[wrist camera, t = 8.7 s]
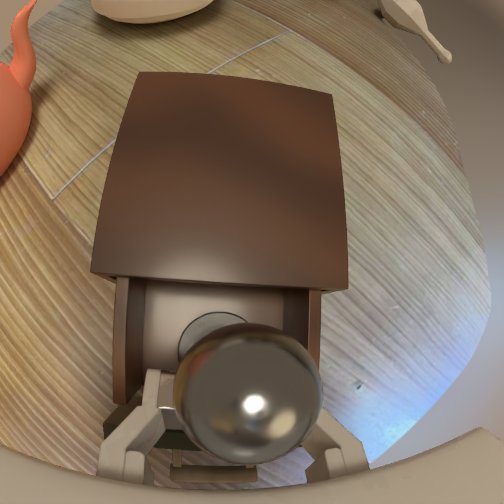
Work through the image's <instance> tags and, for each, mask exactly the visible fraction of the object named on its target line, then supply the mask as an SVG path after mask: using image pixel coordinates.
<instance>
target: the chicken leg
mask: <svg viewBox="0 0 504 504" xmlns="http://www.w3.org/2000/svg"><path fill="white" fill-rule="evenodd" d="M378 2H379V6H380V9H381V13H382V16H383V17H384V18H385V19H386V20H387V21H388V22H389V23H390V24H391V25H392V26H393V27H395V28H399V29H402V30H404V31H407V32H410V33H413V34H416V35H418V36H421V37H422V38H423V40H424V41H425V42H426V43H427V44H428V45H429V46H430V47H431V49H432V50H433V51H434V52H435V53H436V54H437V58H438V60H439V61H440V62H441V63H446V64H448V63H450V62H451V60H452V55H451V53H450V52H449V51H447V50H445V49H444V48H443V47H442V46H441V45H440V43H439V42H438V41H437V40H436V39H435V38H434V36H433V35H432V34H431V33H430V32H429V31H428V29H427V25H426V21H425V18H424V14H423V11H422V8H421V5H419V3H418V2H417V1H416V0H379V1H378Z"/></svg>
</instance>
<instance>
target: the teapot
mask: <svg viewBox="0 0 504 504" xmlns="http://www.w3.org/2000/svg"><path fill="white" fill-rule="evenodd" d="M36 2H37V0H32V1H30V2H29V3H28V4H27V5H26V6H25V7H24V8H23V9H21V10H20V12H19V13H18V14H17V15H16V17H15V18H14V20H13V22H12V26H11V37H12V41H13V45H14V57H13V60H12V62H11V64H10V66H7V65H6V64H4V63H2V62H0V177H1V176H2V174H3V173H4V172H5V171H6V169H7V168H8V167H9V165H10V164H11V162H12V161H13V159H14V158H15V156H16V155H17V153H18V152H19V150H20V148H21V146H22V144H23V142H24V140H25V138H26V135H27V132H28V128H29V124H30V120H31V114H32V101H31V96H30V92H29V90H28V89H29V87H30V85H31V82H32V80H33V78H34V74H35V71H36V58H35V52H34V49H33V46H32V43H31V40H30V37H29V33H28V18H29V15H30V12H31V10H32V9H33V7H34V5H35V4H36Z"/></svg>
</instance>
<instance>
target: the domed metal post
mask: <svg viewBox="0 0 504 504" xmlns="http://www.w3.org/2000/svg"><path fill="white" fill-rule="evenodd" d="M177 355H178V362H179V365H178V367H177V370H176V373H175V376H174V381H173V389H172V399H173V407H174V411H175V414H176V417H177V420H178V422H179V424H180V426H181V428H182V429H183V431H184V433H185V434H186V435H187V437H188V438H189V439H190V440H191V441H192V442H193V443H194V444H195V445H196V446H197V447H199V448H200V449H201V450H203V451H204V452H205V453H207V454H209V455H210V456H212V457H214V458H217V459H219V460H222V461H225V462H229V463H233V464H241V465H255V464H263V463H267V462H271V461H274V460H277V459H279V458H281V457H283V456H285V455H287V454H289V453H290V452H292V451H293V450H294V449H296V448H297V447H298V446H299V445H301V443H302V442H303V441H304V440H305V439H306V438H307V437H308V436H309V434H310V433H311V432H312V430H313V428H314V426H315V425H316V422H317V420H318V418H319V414H320V411H321V407H322V400H323V388H322V381H321V377H320V374H319V370H318V368H317V366H316V364H315V361H314V360H313V358H312V357H311V355H310V354H309V352H308V351H307V350H306V349H305V348H304V347H303V346H302V345H301V344H300V343H299V342H298V341H297V340H296V339H295V338H293V337H292V336H290V335H289V334H287V333H285V332H283V331H281V330H279V329H276V328H274V327H271V326H268V325H263V324H258V323H249V322H248V321H246V320H245V319H243V318H242V317H240V316H238V315H235V314H233V313H229V312H211V313H207V314H204V315H202V316H200V317H198V318H196V319H195V320H193V321H192V322H191V323H190V324H189V325H188V326H187V327H186V328H185V330H184V331H183V333H182V335H181V337H180V340H179V343H178V350H177Z"/></svg>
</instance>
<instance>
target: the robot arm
mask: <svg viewBox="0 0 504 504" xmlns="http://www.w3.org/2000/svg"><path fill="white" fill-rule="evenodd" d="M175 373H176V371H165V370H157V369H148V370H147V372H146V378H145V385H144V392H143V399H142V406H137V407H136V408H135V409H134V410H133V411H132V412H131V413H130V414H129V415H128V416H127V418H126V419H125V420H124V421H123V422H122V423H121V424H120V425H119V426H118V427H117V428H116V429H115V430H114V431H113V432H112V433H111V434H110V435H109V436H108V437H107V438H106V439H105V440H104V441H103V442H102V443H101V446H100V453H99V459H98V466H97V474H96V476H94V475H90V474H86V473H82V472H78V471H74V470H71V469H67V468H64V467H61V466H57V465H54V464H51V463H48V462H45V461H42V460H40V459H37V458H34V457H32V456H29V455H26V454H24V453H21V452H19V451H16V450H14V449H12V448H9V447H7V446H5V445H3V444H1V443H0V504H504V445H503V443H502V442H501V440H500V439H499V438H498V437H496V436H495V435H494V434H492V433H491V432H489V431H488V430H486V429H484V428H482V427H478V428H475V429H473V430H471V431H469V432H467V433H465V434H463V435H461V436H459V437H457V438H455V439H453V440H451V441H448V442H446V443H444V444H441V445H439V446H437V447H434V448H432V449H430V450H427V451H424V452H422V453H419V454H417V455H414V456H411V457H408V458H406V459H403V460H400V461H397V462H394V463H391V464H387V465H385V466H381V467H378V468H375V469H370V468H369V464H368V461H367V458H366V455H365V451H364V448H363V445H362V442H361V441H360V440H359V439H357V438H356V437H355V436H354V435H353V434H352V433H350V432H349V431H348V430H347V429H346V428H345V427H344V426H343V425H341V424H340V423H339V422H338V421H337V420H336V419H335V418H334V417H332V416H331V415H330V414H329V413H328V412H327V411H326V410H325V409H324V408H323V407H321V411H320V414H319V418H318V420H317V422H316V425H315V426H314V428H313V430H312V432H311V433H310V434H309V436H308V437H307V438H306V439H305V440H304V441H303V442H302V443H301V445H302V446H303V447H304V449H305V450H306V451H307V452H308V453H309V454H310V455H311V456H312V458H313V459H314V460H315V461H314V462H313V463H312V464H311V465H310V466H309V467H308V468H307V469H306V470H305V474H306V479H307V483H305V484H298V485H290V486H282V487H272V488H260V489H242V490H197V489H179V488H167V487H157V486H154V472H153V470H152V468H151V466H150V465H149V463H148V461H147V459H146V456H147V454H148V453H149V452H150V450H151V449H152V448H153V446H154V445H155V444H156V442H157V441H158V440H159V438H160V437H161V436H162V434H163V433H164V432H165V429H176V430H183V429H182V428H181V426H180V424H179V422H178V420H177V417H176V414H175V411H174V407H173V399H172V389H173V381H174V376H175Z"/></svg>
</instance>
